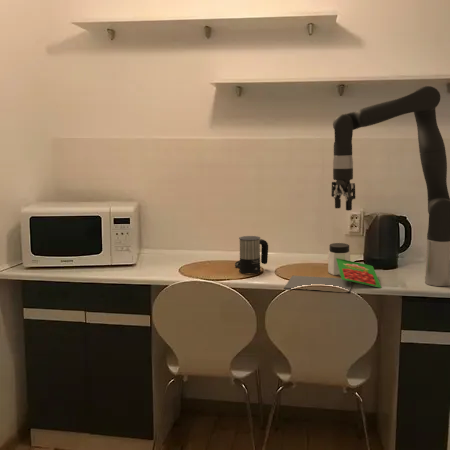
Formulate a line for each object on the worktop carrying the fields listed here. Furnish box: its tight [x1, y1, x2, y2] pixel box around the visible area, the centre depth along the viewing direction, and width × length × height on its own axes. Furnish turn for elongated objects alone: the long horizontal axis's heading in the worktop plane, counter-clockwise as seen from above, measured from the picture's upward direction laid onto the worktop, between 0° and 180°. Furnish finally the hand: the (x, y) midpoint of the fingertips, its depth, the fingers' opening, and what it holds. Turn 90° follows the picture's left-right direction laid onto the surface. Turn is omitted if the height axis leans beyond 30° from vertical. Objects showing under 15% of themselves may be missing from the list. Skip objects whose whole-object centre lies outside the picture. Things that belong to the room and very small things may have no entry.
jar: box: [327, 242, 351, 276], centre depth 243 cm, size 9×8×12 cm
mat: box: [283, 275, 353, 291], centre depth 226 cm, size 24×20×1 cm
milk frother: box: [234, 235, 269, 274], centre depth 251 cm, size 14×16×15 cm
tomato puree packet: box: [336, 258, 382, 289], centre depth 230 cm, size 15×1×20 cm
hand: (343, 209), depth 227 cm, fingers open, 8 cm apart
